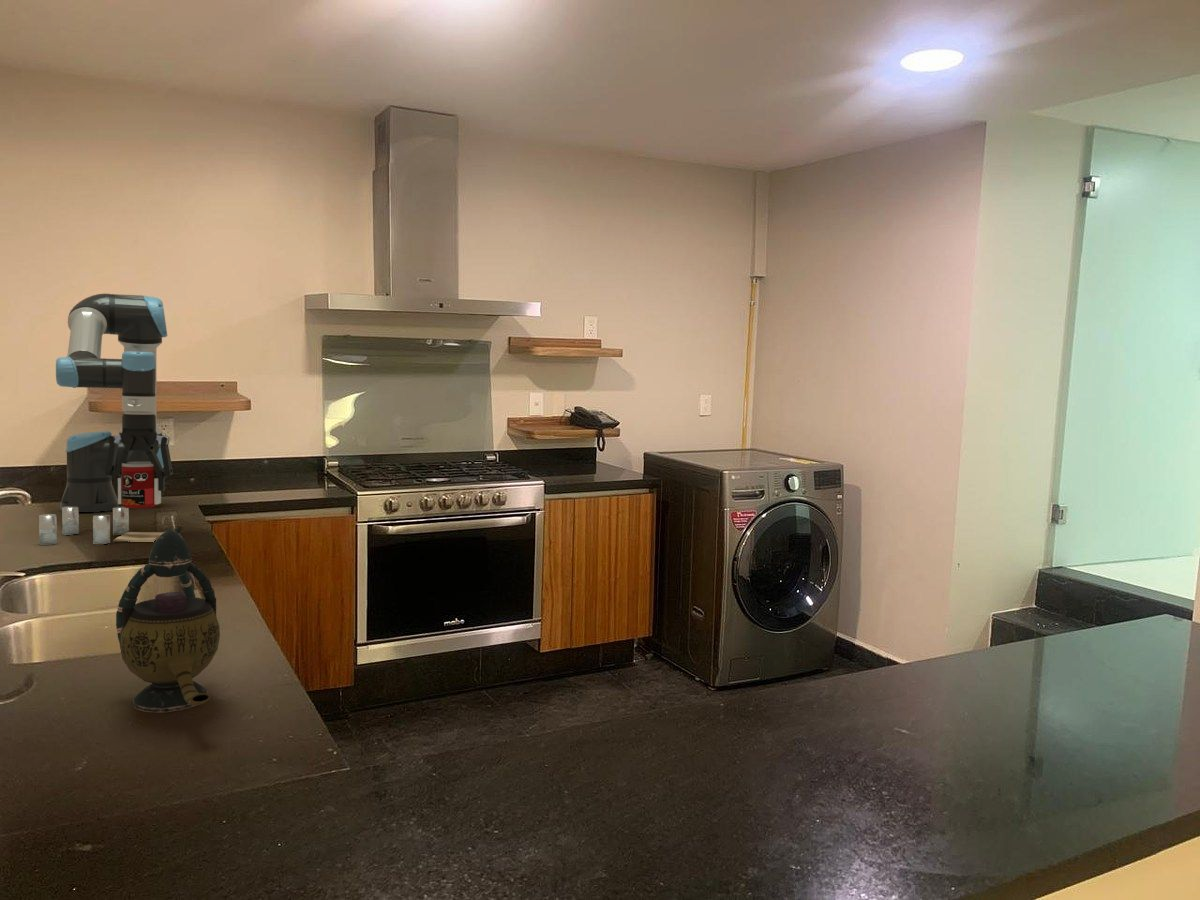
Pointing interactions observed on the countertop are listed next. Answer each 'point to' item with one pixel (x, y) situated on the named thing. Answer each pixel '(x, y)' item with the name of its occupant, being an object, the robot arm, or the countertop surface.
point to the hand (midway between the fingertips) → (139, 503)
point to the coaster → (139, 536)
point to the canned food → (138, 484)
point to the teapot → (168, 630)
